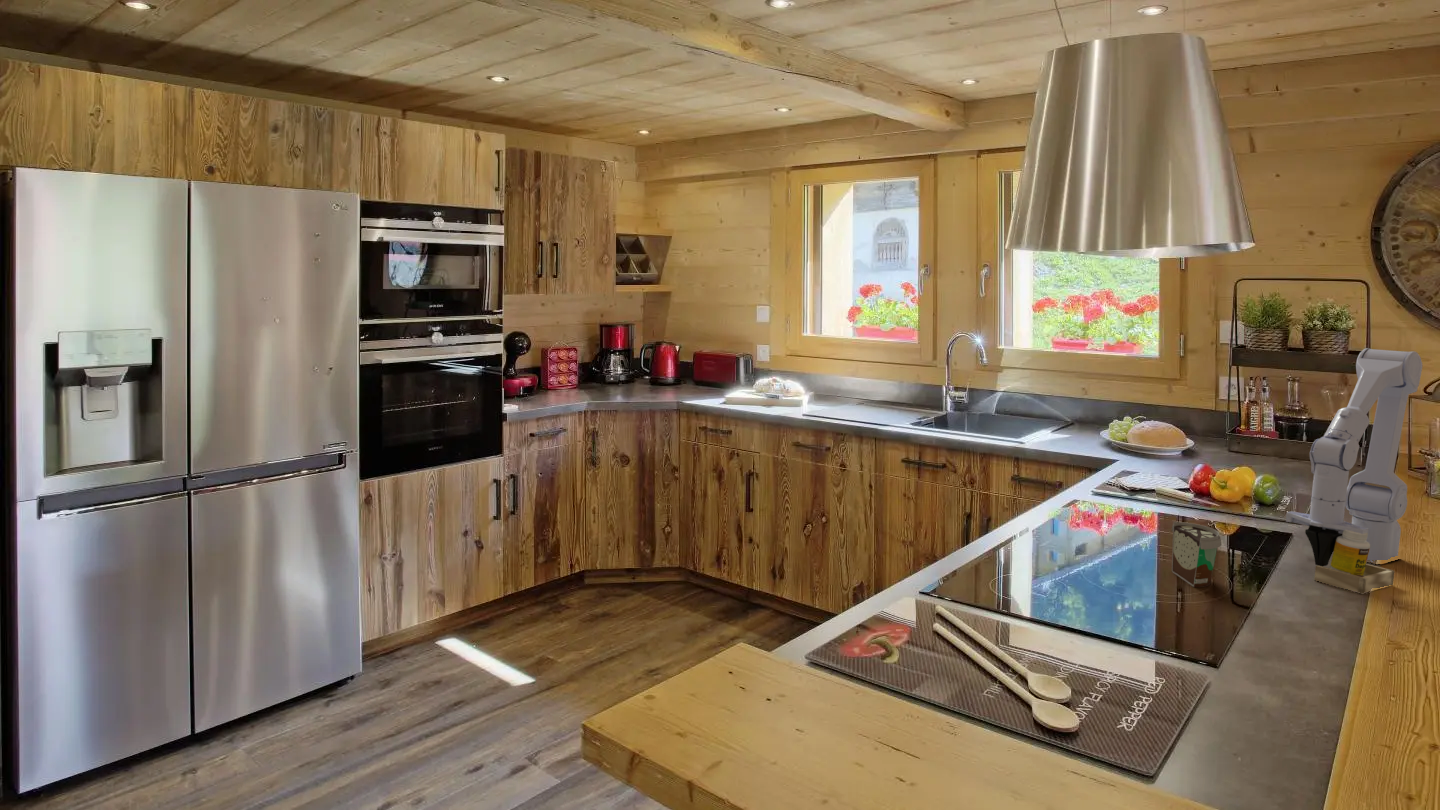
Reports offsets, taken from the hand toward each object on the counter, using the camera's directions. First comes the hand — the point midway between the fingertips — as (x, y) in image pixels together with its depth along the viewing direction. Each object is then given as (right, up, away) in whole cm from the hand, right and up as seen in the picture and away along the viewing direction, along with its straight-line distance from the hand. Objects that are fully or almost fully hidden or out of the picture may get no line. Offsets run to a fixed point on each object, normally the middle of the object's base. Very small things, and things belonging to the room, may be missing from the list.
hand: (1321, 564), depth 189 cm
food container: (-26, -2, -4) cm, 27 cm away
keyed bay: (+3, -3, -5) cm, 6 cm away
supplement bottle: (+2, -2, -4) cm, 5 cm away
